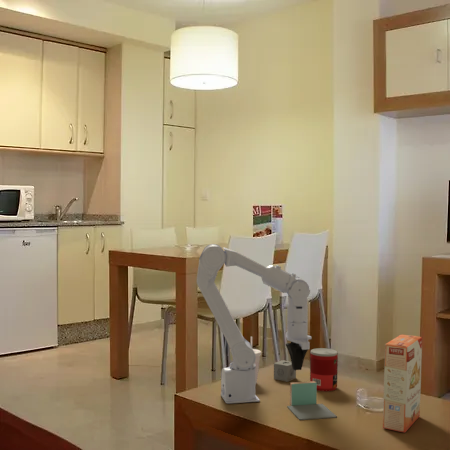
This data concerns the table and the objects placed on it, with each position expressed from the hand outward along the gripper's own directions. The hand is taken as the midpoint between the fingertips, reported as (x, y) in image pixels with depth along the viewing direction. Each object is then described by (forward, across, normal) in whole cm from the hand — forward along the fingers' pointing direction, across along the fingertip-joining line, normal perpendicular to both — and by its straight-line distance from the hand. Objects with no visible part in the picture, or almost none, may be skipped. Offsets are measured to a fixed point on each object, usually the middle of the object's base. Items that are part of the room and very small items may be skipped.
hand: (297, 369), depth 168 cm
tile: (+5, -6, 0) cm, 8 cm away
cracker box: (+8, -24, -20) cm, 32 cm away
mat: (+8, -12, 0) cm, 14 cm away
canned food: (+8, +8, -11) cm, 16 cm away
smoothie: (+8, +16, +9) cm, 21 cm away
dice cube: (+8, +19, -3) cm, 21 cm away
